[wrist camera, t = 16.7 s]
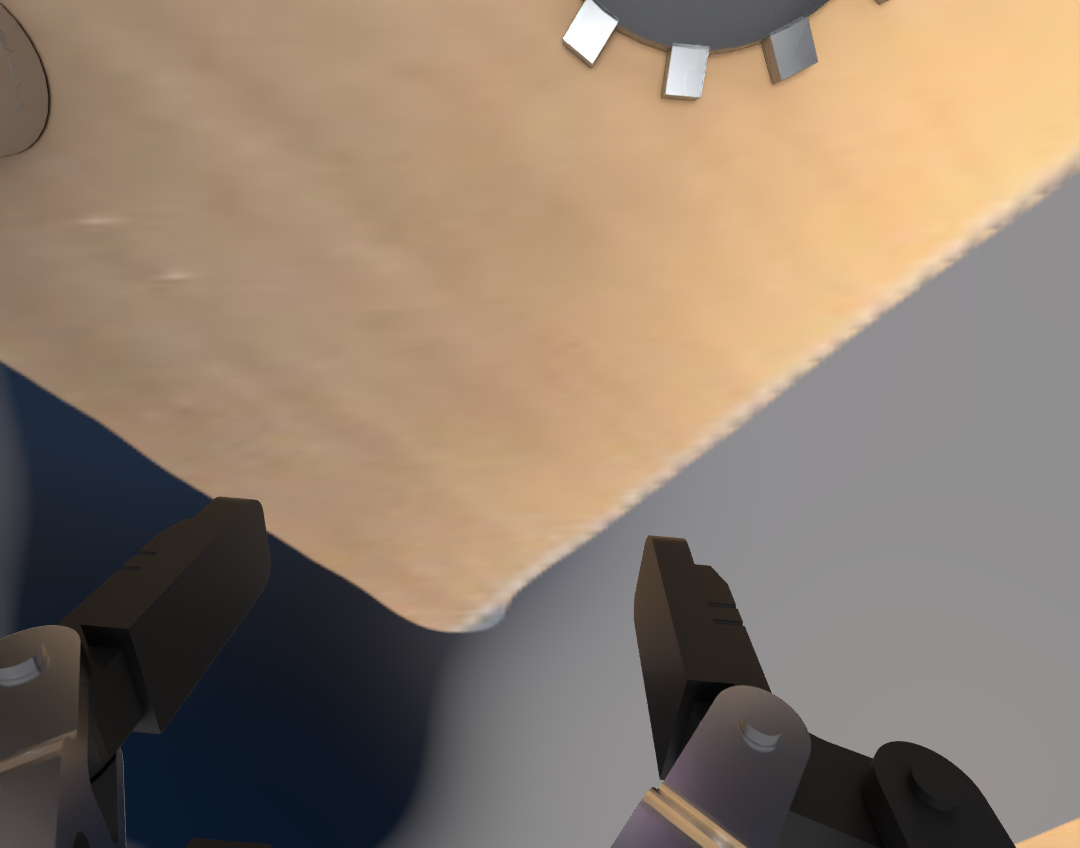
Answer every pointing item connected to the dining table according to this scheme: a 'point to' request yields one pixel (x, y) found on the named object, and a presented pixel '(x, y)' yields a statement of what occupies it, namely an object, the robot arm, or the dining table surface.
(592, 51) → the sprocket plate
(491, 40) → the dining table surface
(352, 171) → the dining table surface
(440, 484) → the dining table surface
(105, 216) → the dining table surface
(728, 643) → the robot arm
